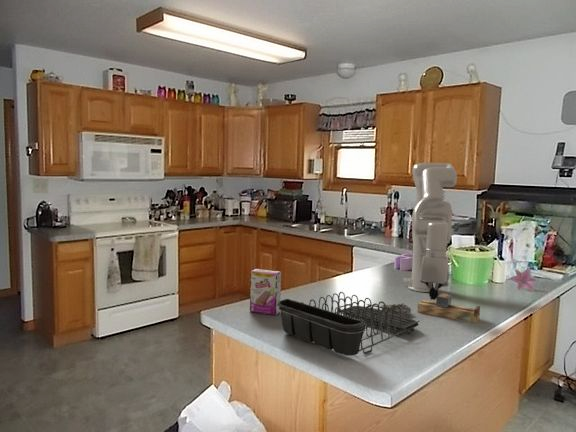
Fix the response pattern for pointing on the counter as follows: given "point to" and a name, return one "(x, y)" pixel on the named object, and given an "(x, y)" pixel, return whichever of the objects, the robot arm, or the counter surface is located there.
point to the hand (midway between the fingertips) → (433, 298)
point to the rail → (450, 311)
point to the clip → (404, 262)
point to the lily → (524, 279)
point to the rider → (443, 300)
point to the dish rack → (341, 323)
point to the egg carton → (402, 306)
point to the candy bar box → (265, 291)
